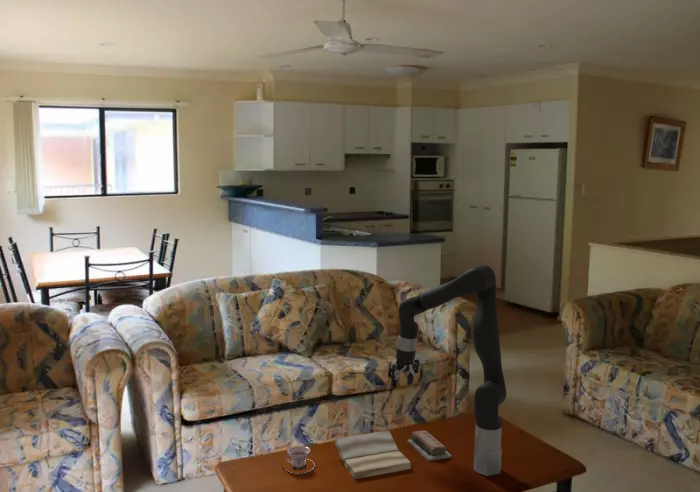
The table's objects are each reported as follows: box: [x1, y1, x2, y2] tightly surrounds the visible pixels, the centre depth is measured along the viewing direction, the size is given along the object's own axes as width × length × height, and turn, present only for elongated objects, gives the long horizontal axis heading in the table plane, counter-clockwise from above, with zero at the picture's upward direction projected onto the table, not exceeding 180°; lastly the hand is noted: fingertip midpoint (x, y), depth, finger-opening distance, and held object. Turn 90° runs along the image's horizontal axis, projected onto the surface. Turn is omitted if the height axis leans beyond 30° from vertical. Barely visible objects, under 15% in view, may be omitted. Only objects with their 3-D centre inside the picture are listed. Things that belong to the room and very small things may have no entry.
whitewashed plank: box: [334, 429, 399, 464], centre depth 255 cm, size 10×22×2 cm, turn 112°
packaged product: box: [407, 429, 452, 462], centre depth 261 cm, size 18×5×10 cm
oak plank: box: [344, 450, 412, 480], centre depth 246 cm, size 10×22×3 cm, turn 112°
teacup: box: [284, 445, 316, 475], centre depth 246 cm, size 12×12×6 cm
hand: (401, 385), depth 265 cm, fingers open, 8 cm apart
